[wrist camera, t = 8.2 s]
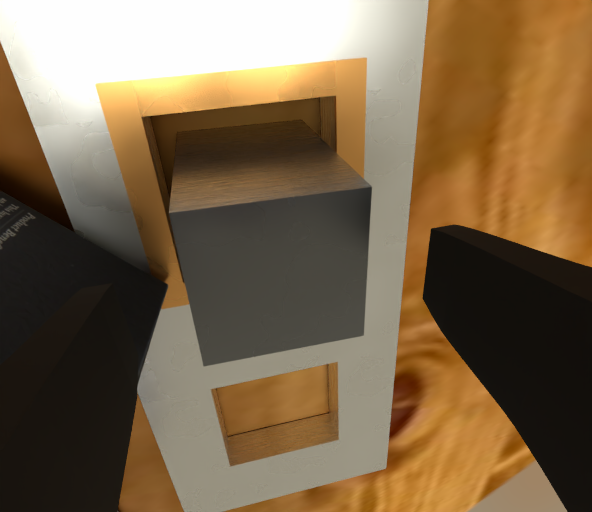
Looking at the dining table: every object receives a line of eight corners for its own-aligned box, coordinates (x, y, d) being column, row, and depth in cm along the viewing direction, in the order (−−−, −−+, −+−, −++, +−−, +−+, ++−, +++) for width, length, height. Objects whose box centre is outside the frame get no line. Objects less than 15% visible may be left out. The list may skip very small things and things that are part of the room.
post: (305, 227, 17) (363, 335, 12) (198, 242, 17) (203, 366, 11) (301, 119, 15) (372, 186, 9) (177, 131, 14) (168, 212, 9)
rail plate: (374, 442, 27) (387, 471, 25) (187, 489, 25) (187, 524, 23) (406, -58, 13) (438, -69, 11) (-4, -37, 11) (-38, -47, 9)
